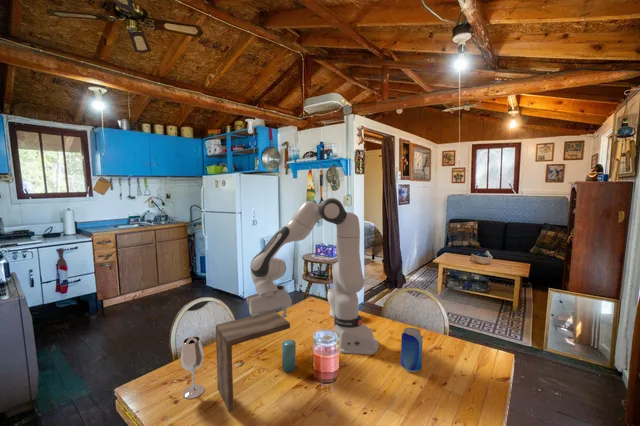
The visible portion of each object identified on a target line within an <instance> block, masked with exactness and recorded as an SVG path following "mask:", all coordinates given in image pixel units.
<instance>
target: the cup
mask: <svg viewBox="0 0 640 426" xmlns="http://www.w3.org/2000/svg"><path fill="white" fill-rule="evenodd" d="M327 301H328V303H329V307H330V310H329V316H330V315H331V316H332V318H334V316H335V292H334V287H332V288H329V289H328V291H327ZM331 316H330V317H331Z"/></svg>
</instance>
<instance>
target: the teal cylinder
mask: <svg viewBox="0 0 640 426" xmlns="http://www.w3.org/2000/svg"><path fill="white" fill-rule="evenodd" d="M296 344H297V343H296V341H295V340H293V339H285V340H283V341H282V342H281V359H282V362H281V363H282V366H281V367H282V371H283V372H286V373H292V372H294V371H295V370H296V369H297V360H296V357H297V355H296V351H297V350H296V348H297V347H296Z"/></svg>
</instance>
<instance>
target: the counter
mask: <svg viewBox="0 0 640 426" xmlns="http://www.w3.org/2000/svg"><path fill="white" fill-rule="evenodd" d="M288 329H291V322H289V321H288V320H287V319H286V318H283V316H282V315H281V314H279V313H278V312H277V311H270V312H266V313H262V314H258V315H254V316H251V315H250V316H246V317H242V318H238V319H235V320H230V321H226V322H222V323H219V324H216V325H215V338H216V339H215V340H216V343H215V344H216V348H215V349H216V374H217V375H216V376H217V377H216V378H217V380H216V381H217V390H218V392H219V394H220V396H221V398H222V400H223V402H224V405H225V407H226V409H227V411H228V413H231V412H233V411H234V385H233V384H234V380H233V375H234V374H233V347H232V346H234V345H239V344H242V343H245V342H249V341H252V340H255V339H258V338H262V337H265V336H269V335H271V334H275V333H279V332H282V331H286V330H288Z"/></svg>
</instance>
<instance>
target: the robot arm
mask: <svg viewBox="0 0 640 426" xmlns="http://www.w3.org/2000/svg"><path fill="white" fill-rule="evenodd" d="M319 220H324V221H325V222H328V223H331V224H334V225H335V226H336V242H335V243H336V244H335V245H336V247H335V249H336V250H335V252H336V257H337V261H336V262H334V264H333V265H332V267H331V275H332V282H333V288H334V292H335V316H334V317H333V322H334V323H333V324H334V329H333V331H335V332H337V333H338V334H339V336H340V351H339V352H340V353H342V354H352V355H353V354H356V355H357V354H358V355H374V354H376V353H377V352H378V350H379V347H380V346H379V341H378V339H377V338H376V337H375V336H374V333H373V330H372V329H371V328H369V327H368V326H367V325H366V324H365V323H363V315H360V314H359V298H358V294H357V293H359V292H360V291H361V290H362V289H364V286H365V278H364V275H363V269H362V260H361V254H360V253H361V251H360V248H361V247H360V244H361V242H360V241H361V240H360V239H361V227H360V220H359V217H358V215H356V214H355V213H354V212H348V211H346V209H345V207H344V205H343V203H342V202H341V201H340V200H339V199H338V198H335V197H328V198H326V199H324V200H322V201H321V202H319V203H316V202H315V201H312V200H306V201H304V202H303V203H302V204H301V205H300V206H299V207H298V208H297V210H296V211H295V213H294V214H293V216H292V217H291V218H290V220H288V222H287V223H286V224H285V225H284V226H282V227H281V228H279V229H278V230H277V231H276V232H275V233H274V235H273V236H272V237H271V238H270V239H269V241H268V242H267V243H266V245H265V246H264V247H263V248H262V249H261V251H260V252H258V254H256V255H255V256H254V257H253V258H252V260H251V262H250V275H251V279H252V281H253V284H254V286H255V293H256V294H252V295H249V296H248V297H247V298H246V305H248V310H249V315H250V316H254V315H258V314H262V313H266V312H270V311H275V312H277V311H280V310H281V311H283V313H282V314H281V316H282V317H283V318H284V319H286V318H287V317H288V315H287V311H288V310H287V309H288V308H290V307H291V306H292V303H293V300H292V298H291V296H290V294H289V293H288V291H287V290H286V286H285V285H280V284H274V281H276V280H279V279H280V278H282V277H283V276H284V274H286V270H287V265H286V262H285V260H284V259H282V258H277V257H275V256H276V254H277V253H278V252H279V251H280V249H281V248H282V247H283V246H285V245H286V244H288V243H292V242H301V241H304V240H305V239H306V238H307V237H308V236H309V235H310V234H311V232H312V230H313V229H314V227H315V225H316V224H317V223H318V222H319Z"/></svg>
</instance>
